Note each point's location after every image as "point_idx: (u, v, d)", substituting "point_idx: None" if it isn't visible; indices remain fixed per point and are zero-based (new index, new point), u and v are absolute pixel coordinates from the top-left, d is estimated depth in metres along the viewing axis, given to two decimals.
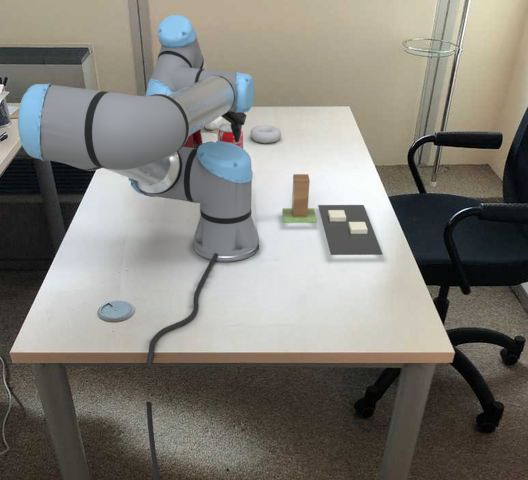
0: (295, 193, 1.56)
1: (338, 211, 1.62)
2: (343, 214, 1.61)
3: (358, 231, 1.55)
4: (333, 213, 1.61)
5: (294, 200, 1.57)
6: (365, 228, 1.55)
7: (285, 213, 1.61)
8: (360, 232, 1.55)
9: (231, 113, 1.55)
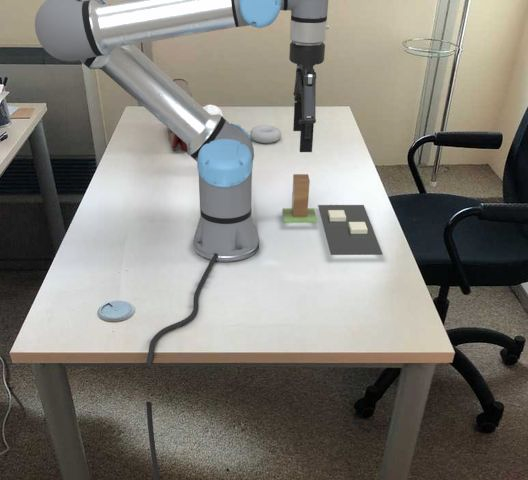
0: (295, 193, 1.56)
1: (338, 211, 1.62)
2: (343, 214, 1.61)
3: (358, 231, 1.55)
4: (333, 213, 1.61)
5: (294, 200, 1.57)
6: (365, 228, 1.55)
7: (285, 213, 1.61)
8: (360, 232, 1.55)
9: (303, 100, 1.37)
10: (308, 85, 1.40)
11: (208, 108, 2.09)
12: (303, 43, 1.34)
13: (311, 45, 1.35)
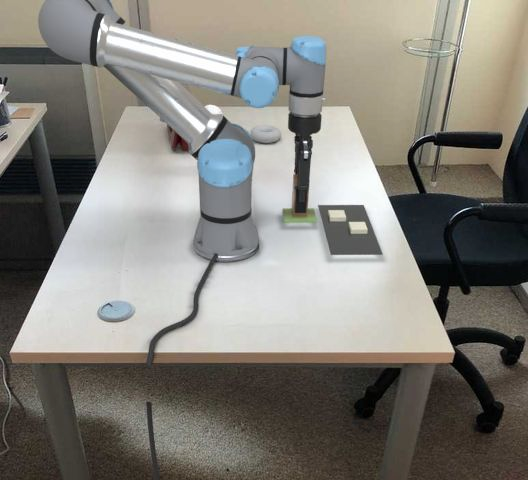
0: (295, 193, 1.56)
1: (338, 211, 1.62)
2: (343, 214, 1.61)
3: (358, 231, 1.55)
4: (333, 213, 1.61)
5: (294, 200, 1.57)
6: (365, 228, 1.55)
7: (285, 213, 1.61)
8: (360, 232, 1.55)
9: (299, 170, 1.49)
10: None
11: (208, 108, 2.09)
12: (300, 115, 1.43)
13: (308, 117, 1.43)
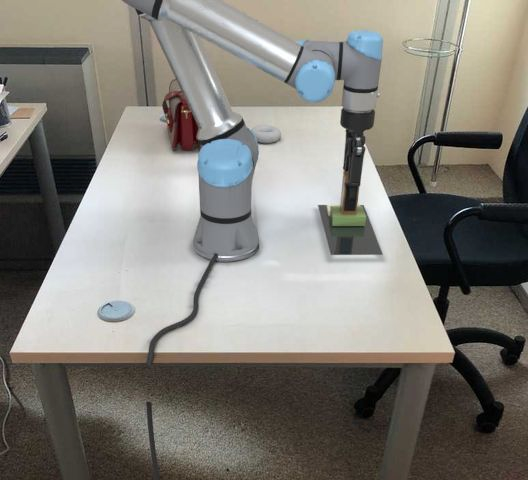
0: (345, 190, 1.54)
1: (336, 205, 1.64)
2: None
3: None
4: None
5: (344, 197, 1.55)
6: None
7: (334, 210, 1.59)
8: None
9: (351, 167, 1.47)
10: None
11: None
12: (355, 111, 1.41)
13: (362, 113, 1.41)
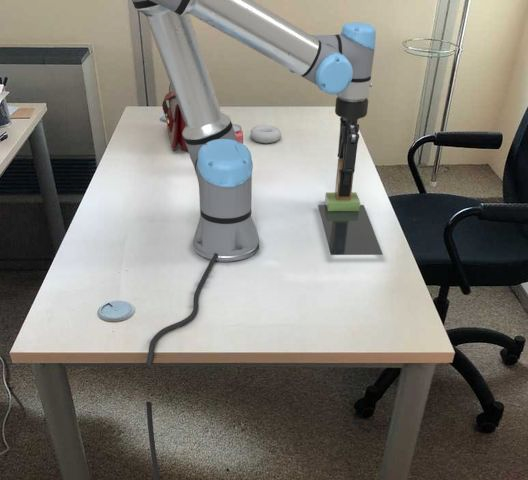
0: None
1: None
2: None
3: None
4: None
5: (339, 184, 1.61)
6: None
7: (329, 196, 1.65)
8: None
9: (345, 154, 1.53)
10: None
11: None
12: (349, 100, 1.47)
13: (356, 101, 1.48)
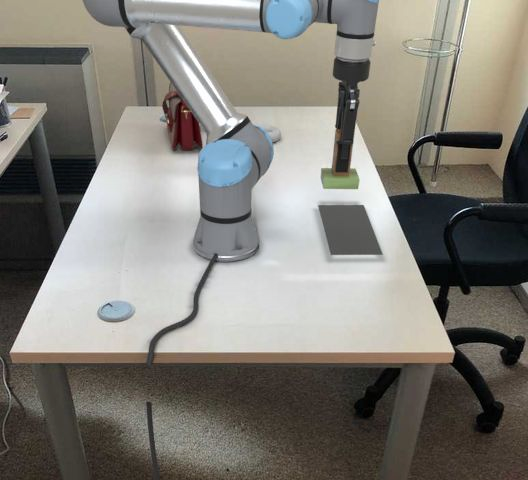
0: (337, 149, 1.42)
1: None
2: None
3: None
4: None
5: (336, 157, 1.44)
6: None
7: (325, 172, 1.48)
8: None
9: (343, 122, 1.35)
10: None
11: None
12: (348, 59, 1.29)
13: (356, 62, 1.30)
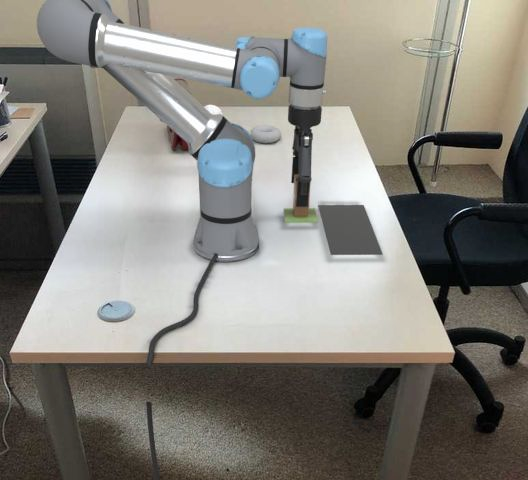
0: (296, 193, 1.56)
1: None
2: None
3: None
4: None
5: (295, 200, 1.57)
6: None
7: (286, 213, 1.61)
8: None
9: (300, 160, 1.45)
10: None
11: (208, 108, 2.09)
12: (301, 107, 1.42)
13: (308, 109, 1.42)
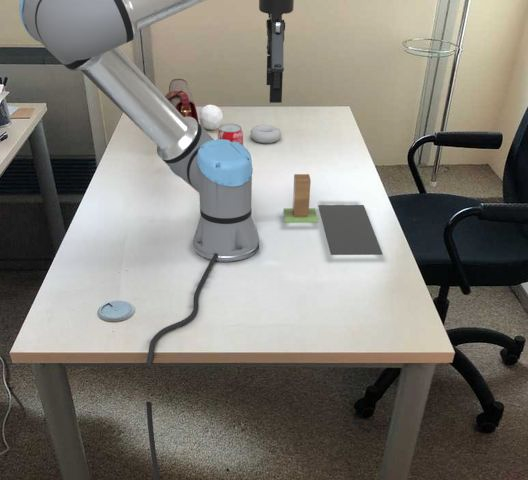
0: (296, 193, 1.56)
1: None
2: None
3: None
4: None
5: (295, 200, 1.57)
6: None
7: (286, 213, 1.61)
8: None
9: (271, 49, 1.39)
10: None
11: (208, 108, 2.09)
12: None
13: None
